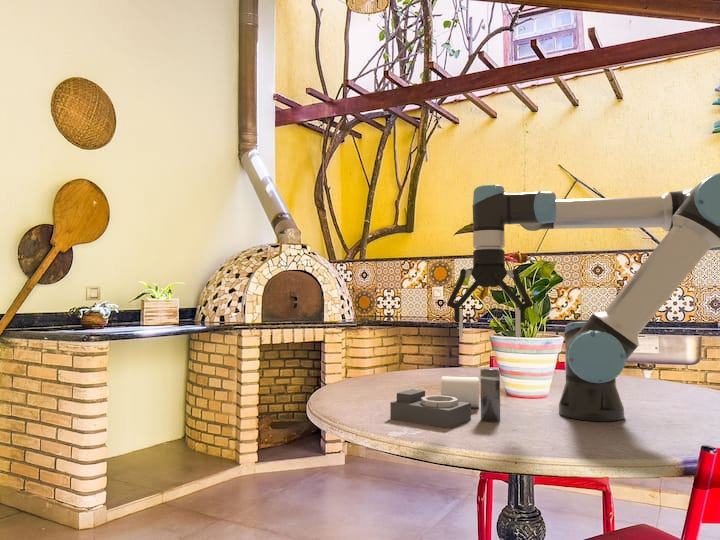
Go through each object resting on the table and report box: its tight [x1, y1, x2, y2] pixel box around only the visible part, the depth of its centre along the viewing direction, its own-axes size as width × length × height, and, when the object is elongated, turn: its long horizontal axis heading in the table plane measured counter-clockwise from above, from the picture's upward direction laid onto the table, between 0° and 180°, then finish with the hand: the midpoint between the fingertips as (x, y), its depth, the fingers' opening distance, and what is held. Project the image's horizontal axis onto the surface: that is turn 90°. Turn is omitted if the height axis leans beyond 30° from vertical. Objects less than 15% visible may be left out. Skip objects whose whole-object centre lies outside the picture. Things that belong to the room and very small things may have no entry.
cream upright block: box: [440, 376, 480, 409], centre depth 153 cm, size 12×10×8 cm
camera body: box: [389, 388, 472, 429], centre depth 136 cm, size 16×11×6 cm
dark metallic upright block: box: [479, 367, 501, 423], centre depth 135 cm, size 5×5×12 cm
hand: (489, 336), depth 136 cm, fingers open, 13 cm apart
